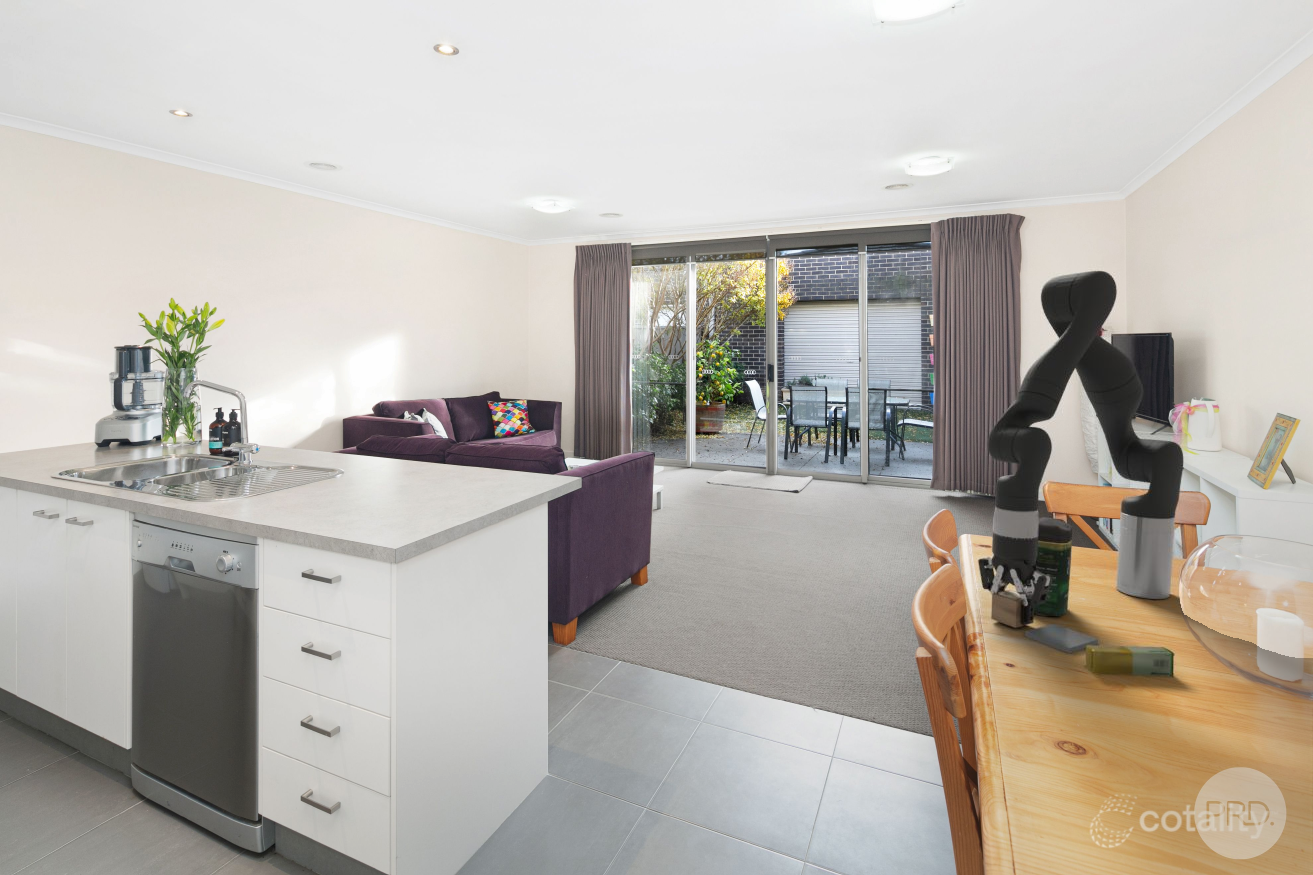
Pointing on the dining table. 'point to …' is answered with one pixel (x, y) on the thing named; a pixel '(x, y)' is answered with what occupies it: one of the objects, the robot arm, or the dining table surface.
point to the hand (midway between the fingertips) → (1011, 618)
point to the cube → (1007, 608)
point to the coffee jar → (1054, 564)
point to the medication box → (1130, 660)
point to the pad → (1061, 638)
